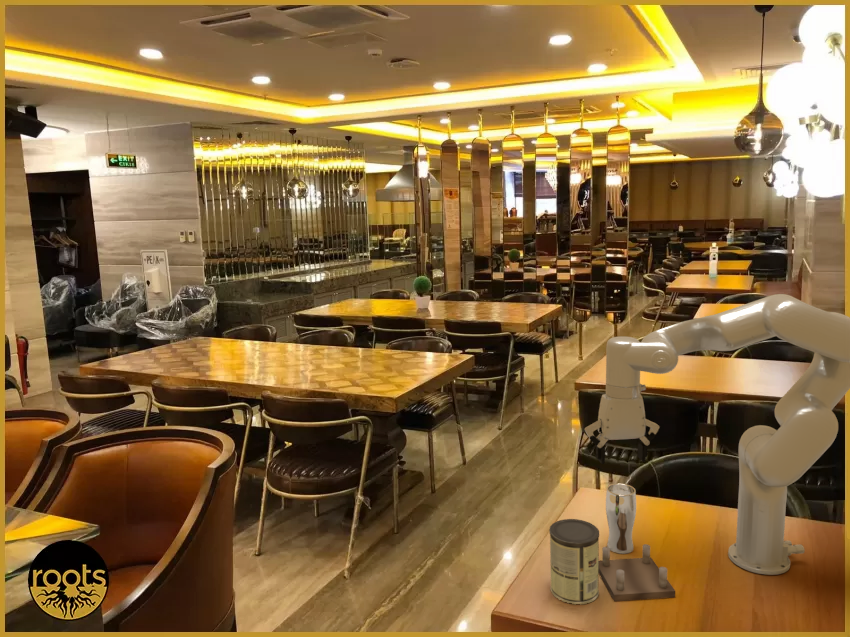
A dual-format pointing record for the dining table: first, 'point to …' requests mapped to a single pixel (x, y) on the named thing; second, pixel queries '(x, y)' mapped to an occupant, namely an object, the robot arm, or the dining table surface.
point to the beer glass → (620, 517)
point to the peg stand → (634, 577)
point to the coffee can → (574, 561)
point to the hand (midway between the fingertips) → (621, 460)
